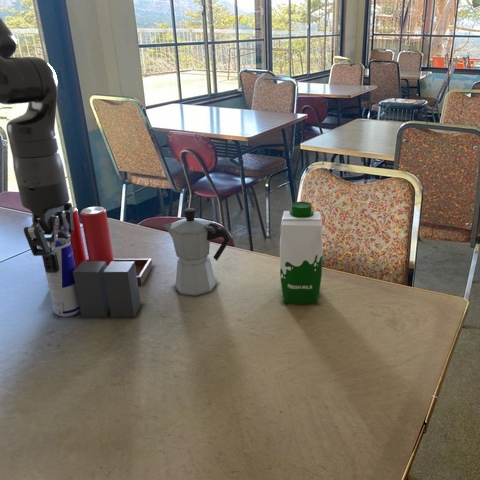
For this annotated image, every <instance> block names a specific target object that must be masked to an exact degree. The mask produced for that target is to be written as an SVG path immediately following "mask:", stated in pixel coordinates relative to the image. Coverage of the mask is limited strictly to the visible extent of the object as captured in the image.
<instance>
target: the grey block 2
mask: <svg viewBox="0 0 480 480" xmlns="http://www.w3.org/2000/svg"><path fill="white" fill-rule="evenodd" d="M103 274H104V280H105V286H106V292H107V297H108V303H109V309H110V311H109V314H110V318H135V317H136V315H137V313H138V311H139V309H140V307H141V305H142V304H141V298H140V297H141V296H140V290H139V289H140V288H139V286H138V282H137V275H136V268H135V261H111V262H110V264H109V265H108V266H107V268H106V269H105V270H104V272H103Z"/></svg>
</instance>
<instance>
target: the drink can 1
mask: <svg viewBox="0 0 480 480" xmlns="http://www.w3.org/2000/svg"><path fill="white" fill-rule="evenodd" d="M72 212H73V224H74V232H73V233H70V235H71V239H70V244H71V247H72V252H73V257H74V262H75V267H76V268H77V267H78V266H79V265H80V264H81V262H82V261H87V259H88V258H87V254H86V249H85V244H84V239H83V234H82V228H81V223H80V222H81V221H80V217H79V212H78V209H77V208H76V207H75V206H72ZM67 222H68V221H67Z"/></svg>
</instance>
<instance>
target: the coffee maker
mask: <svg viewBox="0 0 480 480" xmlns="http://www.w3.org/2000/svg"><path fill="white" fill-rule="evenodd" d="M183 212H184V215H185V218H182V219H180V220H177V221H174V222H171V223H167V224H166V223H165V224H163V225H162V227H164V228H165V229H166V231H167V232H168V234H169V235H170V237H171V238H172V242H173V247H174V251H175V255H176V257H177V258H178V259H177V263H176V274H175V275H176V277H175V285H174V286H175V287H174V288H175V289H176V290H177V291H178V293H179V294H180V295H186V296H187V295H188V296H193V297H196V296H200V295H203V294H206V293H211V291H212V290H213V289H214V288H215V287H216V285H217V281H216V277H215V274H214V270H213V265H212V263H211V258H210V256H209V255H210V247H211V241H212V240H215V239H219V238H222V239H223V241H222V243H221V245H219V247H218V249H217V251H216V253H215V254H214V256H213V259H214V260H215V261H218V260H219V259H220V258H221V256H222V254H223V252H224V251H225V249H226V247H227V246H228V244H229V243H230V241H231V239H232V238H231V235H230V233H229V232H228V230H227V229H226V228H224V227H220V225H218V224H217V223H216V222H211V221H210V220H207V219H203V218H200V217H196V218H195V214H196V208H193V207H188V208H185V209H184V210H183Z"/></svg>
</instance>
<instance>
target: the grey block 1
mask: <svg viewBox="0 0 480 480" xmlns="http://www.w3.org/2000/svg"><path fill="white" fill-rule="evenodd" d="M106 268H107V265H106V261H82V262H81V264H80V265H79V266H78V267H77V268H76V269H75V270H74V271H73V275H74V280H75V285H76V290H77V295H78V300H79V305H80V314H81V318H106V317H107V316H108V314H110V309H109V303H108V297H107V292H106V286H105V280H104V274H103V272H104V270H105V269H106Z"/></svg>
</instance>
